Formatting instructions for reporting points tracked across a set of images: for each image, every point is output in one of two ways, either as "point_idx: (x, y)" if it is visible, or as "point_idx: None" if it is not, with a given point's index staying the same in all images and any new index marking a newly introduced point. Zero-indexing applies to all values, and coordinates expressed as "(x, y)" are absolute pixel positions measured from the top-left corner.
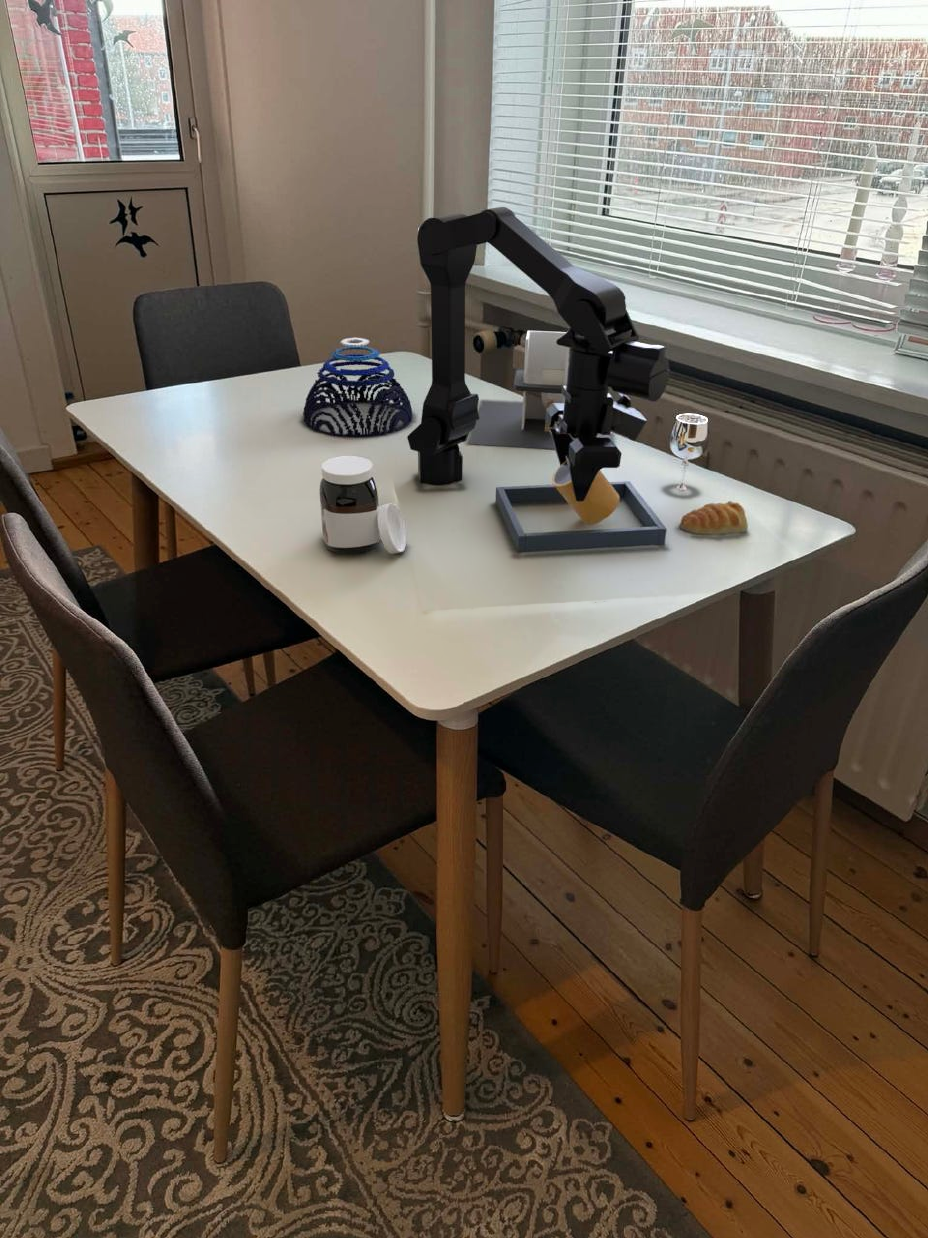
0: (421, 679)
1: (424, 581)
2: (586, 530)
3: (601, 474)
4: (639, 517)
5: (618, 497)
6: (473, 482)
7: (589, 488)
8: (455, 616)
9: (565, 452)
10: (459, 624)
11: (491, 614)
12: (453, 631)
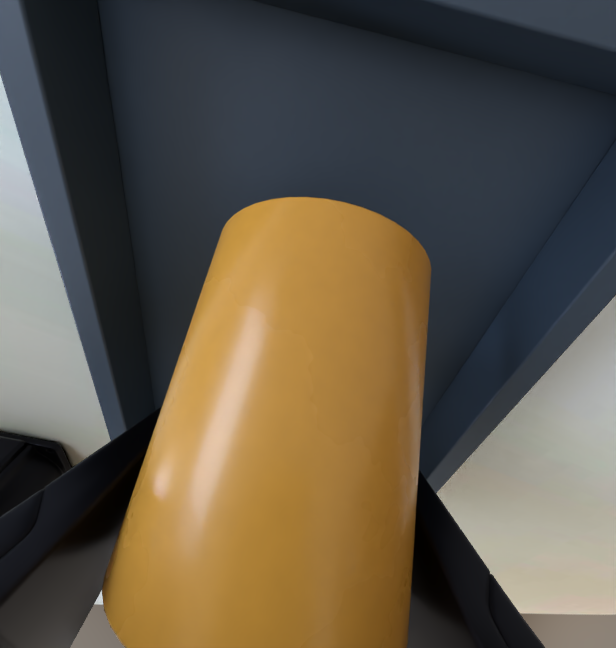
0: (593, 606)
1: None
2: (485, 415)
3: (358, 460)
4: (386, 31)
5: (394, 235)
6: (14, 412)
7: (454, 520)
8: (508, 565)
9: (64, 619)
10: (529, 567)
11: (541, 545)
12: (538, 574)
